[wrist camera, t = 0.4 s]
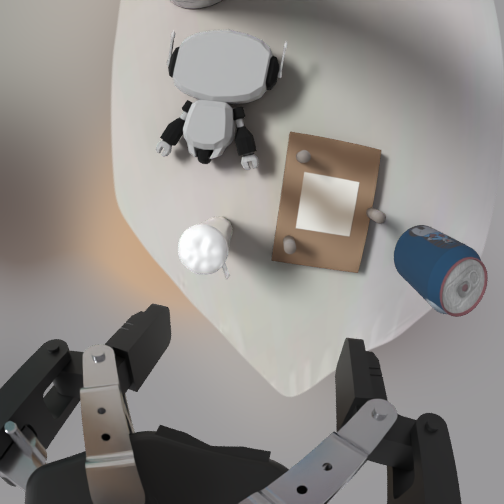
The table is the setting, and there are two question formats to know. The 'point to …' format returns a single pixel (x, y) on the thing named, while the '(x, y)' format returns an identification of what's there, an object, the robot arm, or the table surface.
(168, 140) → the robot toy
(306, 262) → the pin plate
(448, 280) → the soda can
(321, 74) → the table surface
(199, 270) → the milkshake
